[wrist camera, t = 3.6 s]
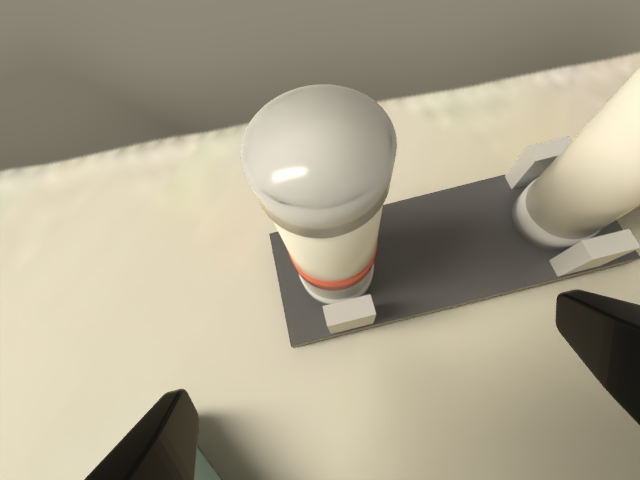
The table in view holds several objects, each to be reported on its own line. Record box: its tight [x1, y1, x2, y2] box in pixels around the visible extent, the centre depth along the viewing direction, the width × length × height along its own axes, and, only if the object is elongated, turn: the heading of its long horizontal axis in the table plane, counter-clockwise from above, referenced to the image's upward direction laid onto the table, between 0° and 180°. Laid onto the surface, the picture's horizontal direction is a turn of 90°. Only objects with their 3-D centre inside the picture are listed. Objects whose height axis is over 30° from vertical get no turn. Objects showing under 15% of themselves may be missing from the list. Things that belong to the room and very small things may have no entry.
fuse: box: [511, 67, 640, 252], centre depth 15 cm, size 4×4×12 cm
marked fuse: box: [241, 84, 397, 305], centre depth 15 cm, size 4×4×12 cm
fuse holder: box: [270, 136, 640, 348], centre depth 19 cm, size 7×20×4 cm, turn 103°
